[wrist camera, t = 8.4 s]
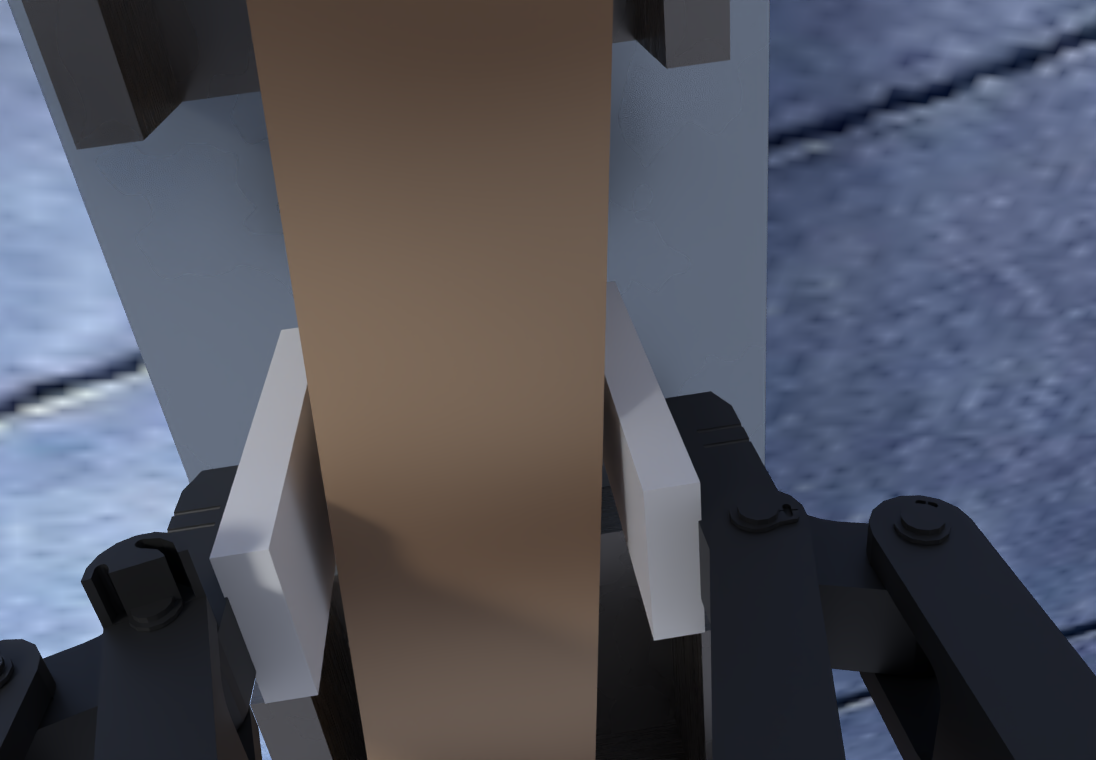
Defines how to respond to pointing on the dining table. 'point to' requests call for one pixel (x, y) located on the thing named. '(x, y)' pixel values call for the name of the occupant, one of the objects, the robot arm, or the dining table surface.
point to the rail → (453, 350)
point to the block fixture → (268, 304)
